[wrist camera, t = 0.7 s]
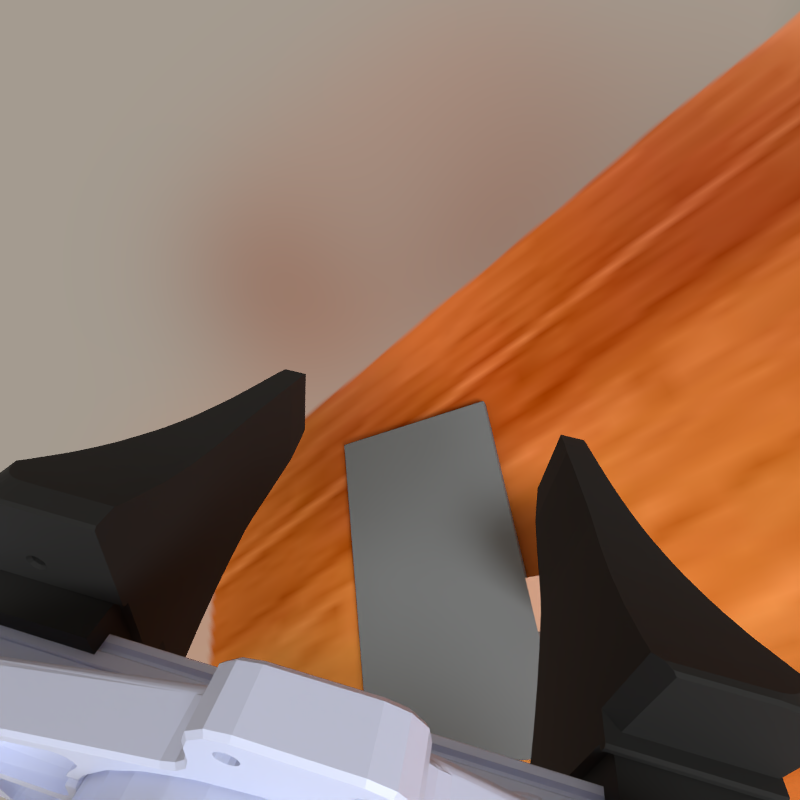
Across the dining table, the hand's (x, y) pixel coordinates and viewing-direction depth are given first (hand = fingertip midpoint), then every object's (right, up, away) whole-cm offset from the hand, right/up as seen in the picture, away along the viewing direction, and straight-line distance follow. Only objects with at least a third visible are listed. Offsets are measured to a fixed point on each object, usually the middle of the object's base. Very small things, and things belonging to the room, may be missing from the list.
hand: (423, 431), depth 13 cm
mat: (+1, -9, +14) cm, 17 cm away
